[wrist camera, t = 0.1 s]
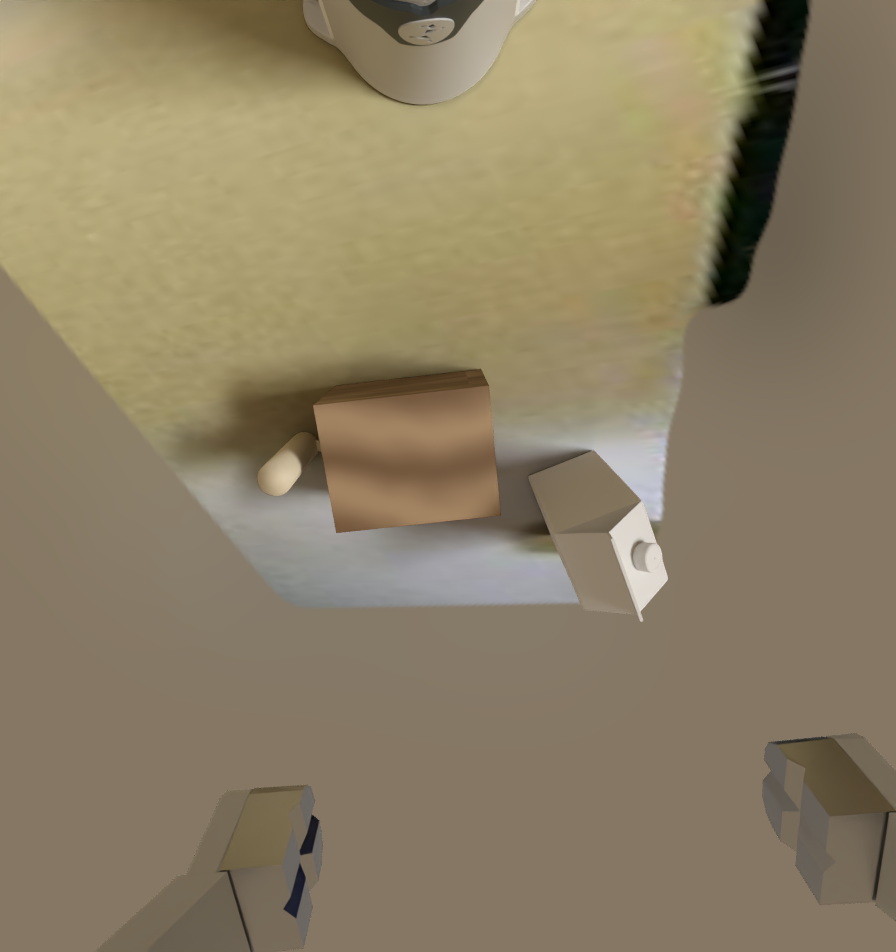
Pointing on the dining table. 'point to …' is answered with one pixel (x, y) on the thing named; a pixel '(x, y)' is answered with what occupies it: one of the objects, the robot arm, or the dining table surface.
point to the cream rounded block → (288, 464)
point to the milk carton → (600, 534)
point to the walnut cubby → (409, 451)
